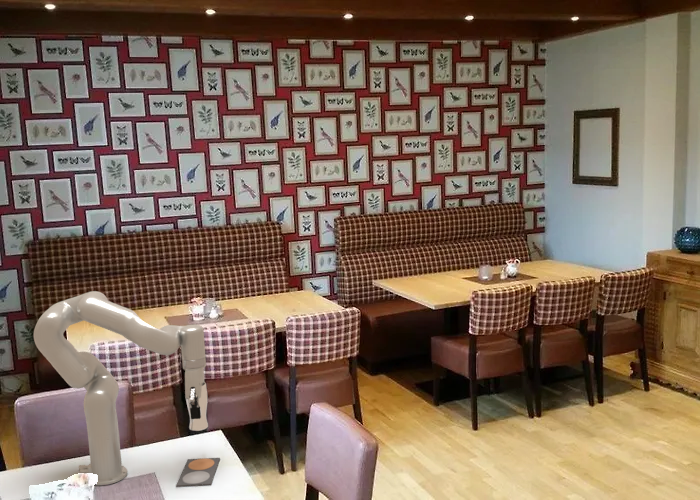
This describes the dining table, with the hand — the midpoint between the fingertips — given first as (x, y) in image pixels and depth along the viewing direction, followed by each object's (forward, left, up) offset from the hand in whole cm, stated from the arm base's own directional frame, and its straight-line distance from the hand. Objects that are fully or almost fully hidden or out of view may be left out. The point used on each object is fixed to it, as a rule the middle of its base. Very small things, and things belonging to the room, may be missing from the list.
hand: (197, 414), depth 237 cm
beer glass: (0, 0, -5) cm, 5 cm away
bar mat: (0, -5, -18) cm, 19 cm away
